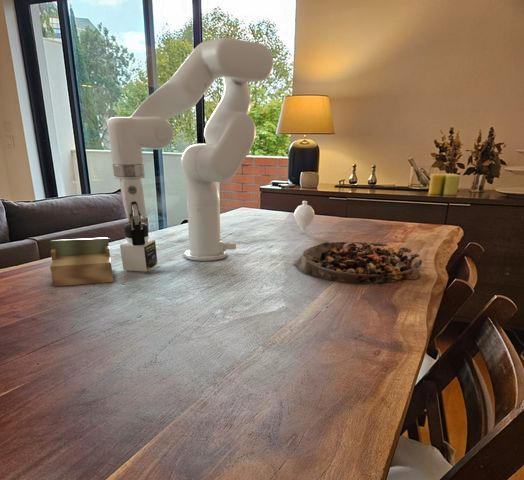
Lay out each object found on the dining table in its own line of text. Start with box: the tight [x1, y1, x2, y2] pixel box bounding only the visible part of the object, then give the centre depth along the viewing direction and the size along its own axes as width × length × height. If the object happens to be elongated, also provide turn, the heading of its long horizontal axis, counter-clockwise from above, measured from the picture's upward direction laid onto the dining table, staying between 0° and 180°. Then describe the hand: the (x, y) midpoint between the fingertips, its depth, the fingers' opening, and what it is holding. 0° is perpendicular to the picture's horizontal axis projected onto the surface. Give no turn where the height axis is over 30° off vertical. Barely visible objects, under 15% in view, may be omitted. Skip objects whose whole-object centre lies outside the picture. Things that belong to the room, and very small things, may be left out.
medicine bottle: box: [119, 222, 159, 273], centre depth 124 cm, size 7×7×12 cm
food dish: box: [294, 241, 423, 284], centre depth 129 cm, size 35×33×8 cm
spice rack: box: [49, 237, 114, 287], centre depth 116 cm, size 14×11×9 cm
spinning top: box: [293, 200, 315, 234], centre depth 173 cm, size 8×8×12 cm
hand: (137, 241), depth 123 cm, fingers closed on medicine bottle, 7 cm apart
